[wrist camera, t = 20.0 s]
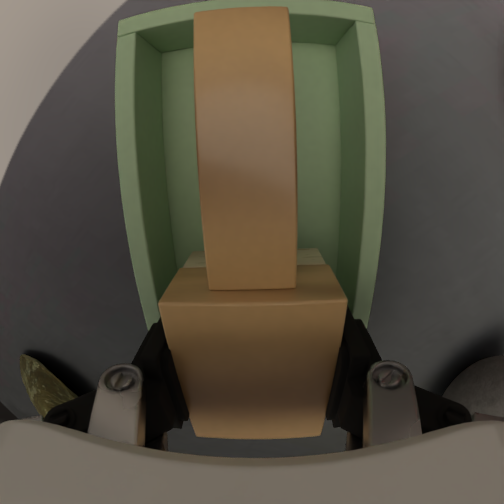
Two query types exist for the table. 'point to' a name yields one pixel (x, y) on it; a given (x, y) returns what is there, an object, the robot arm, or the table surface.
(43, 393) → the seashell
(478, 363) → the decorative ball
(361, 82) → the bin
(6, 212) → the table surface
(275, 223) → the brush
